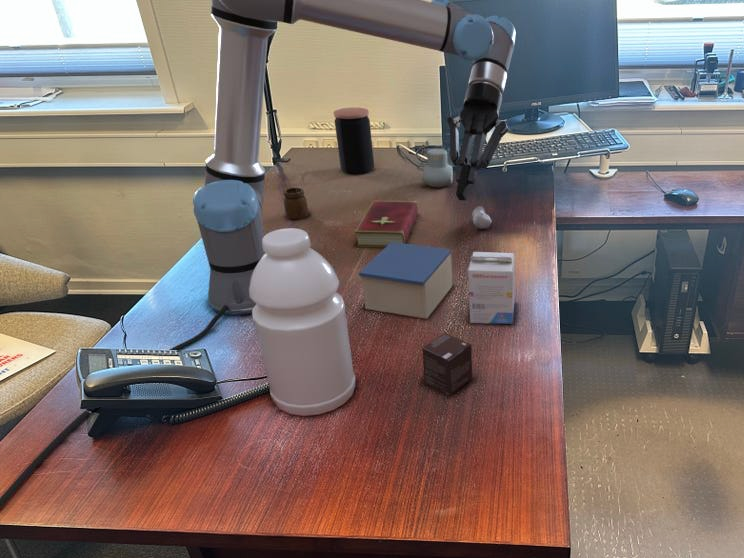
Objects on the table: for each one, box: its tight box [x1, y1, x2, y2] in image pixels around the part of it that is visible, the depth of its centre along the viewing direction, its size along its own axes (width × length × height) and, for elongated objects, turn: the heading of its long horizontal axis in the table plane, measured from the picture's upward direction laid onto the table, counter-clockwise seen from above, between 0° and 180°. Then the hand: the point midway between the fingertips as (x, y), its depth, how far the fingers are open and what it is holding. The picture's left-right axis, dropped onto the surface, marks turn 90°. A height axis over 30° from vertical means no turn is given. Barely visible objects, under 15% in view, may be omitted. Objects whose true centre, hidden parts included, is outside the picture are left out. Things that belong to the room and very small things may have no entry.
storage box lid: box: [358, 242, 452, 286], centre depth 131 cm, size 15×14×1 cm
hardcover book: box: [354, 200, 419, 248], centre depth 164 cm, size 12×21×4 cm, turn 176°
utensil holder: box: [276, 172, 309, 220], centre depth 171 cm, size 6×6×12 cm
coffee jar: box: [333, 107, 375, 176], centre depth 201 cm, size 11×11×18 cm
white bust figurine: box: [471, 205, 492, 230], centre depth 167 cm, size 4×8×5 cm
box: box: [421, 332, 473, 396], centre depth 109 cm, size 6×6×7 cm
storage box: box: [360, 253, 453, 320], centre depth 133 cm, size 15×14×8 cm
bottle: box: [249, 227, 356, 417], centre depth 101 cm, size 14×14×28 cm
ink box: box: [467, 251, 516, 325], centre depth 126 cm, size 9×8×13 cm
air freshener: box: [422, 148, 454, 188], centre depth 191 cm, size 11×8×10 cm
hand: (461, 197), depth 130 cm, fingers closed
